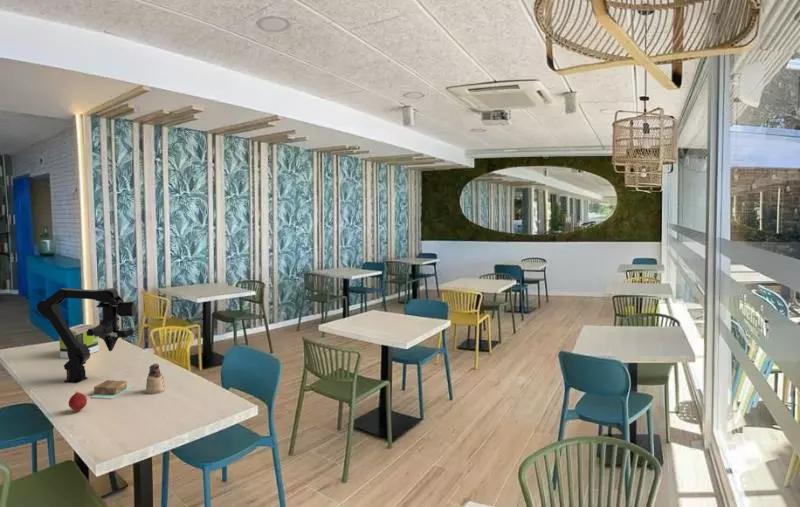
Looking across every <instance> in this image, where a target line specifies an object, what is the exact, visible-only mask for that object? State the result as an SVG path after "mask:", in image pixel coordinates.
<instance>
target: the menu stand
mask: <svg viewBox="0 0 800 507" xmlns="http://www.w3.org/2000/svg"><path fill="white" fill-rule="evenodd" d="M126 386H127V381H126V380H105V381H103V382H100V383H99V384H97V385H95V386H93V393H94V394H93V395H95V394H106V395H115V394H117V393H118V392H120V391H122V390H124V389H126Z"/></svg>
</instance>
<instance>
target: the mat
mask: <svg viewBox="0 0 800 507" xmlns="http://www.w3.org/2000/svg"><path fill="white" fill-rule="evenodd" d="M133 388H134V385H126V389H124V390H122V391H120V392H118V393H117V394H115V395H106V394H93V395H92V396H91V397H90V399H101V398H102V399H103V400H104V399H105V400H113V399H115V398H116V397H118V396H120V395H122V394H123V393H125V392H127V391H130V389H133ZM102 399H101V400H102Z"/></svg>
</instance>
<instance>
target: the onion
mask: <svg viewBox="0 0 800 507" xmlns="http://www.w3.org/2000/svg"><path fill="white" fill-rule="evenodd" d="M87 402H88V398H87V396H86V395H85V394H84V393H82V392H80V391H79V390H76V391H75V392H74V394H73V395H72V396H71V397H70V398H69V401H68V407H69V408H70V409H72V410H73V411H75V412H80V411H82V410H83V409H84V408H85V407H86V405H87Z"/></svg>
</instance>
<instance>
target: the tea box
mask: <svg viewBox="0 0 800 507" xmlns="http://www.w3.org/2000/svg"><path fill="white" fill-rule="evenodd" d="M96 326H98V325H97V324H84V323H83V324H81V323H80V324H78V325H74V326H70V327H69V328H70V330H71V332H72V333H73V335H74V336H75V338H76V340H77V341H78V342H79V343H80V344H81V345H83V344H86V345H87V348H88V349H89V350H90V355H92V354H93V353H96V352H99V337H94V335H93V336H87V330H88V329H90V328H94V327H96ZM58 338H59V340H58V341H59V355H60V356H59V357H60V358H61V359H68V360H69V358H68V354H67V348H66V346H65V344H64V343H63V341H62V340H61V338H60V337H59V336H58Z"/></svg>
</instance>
